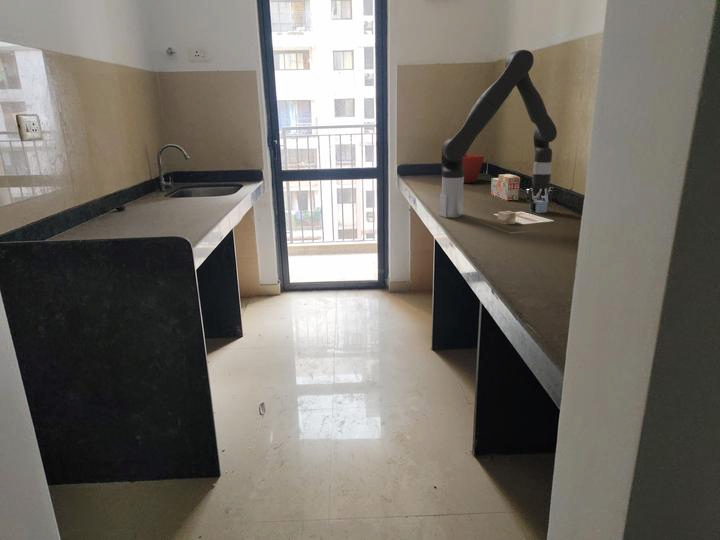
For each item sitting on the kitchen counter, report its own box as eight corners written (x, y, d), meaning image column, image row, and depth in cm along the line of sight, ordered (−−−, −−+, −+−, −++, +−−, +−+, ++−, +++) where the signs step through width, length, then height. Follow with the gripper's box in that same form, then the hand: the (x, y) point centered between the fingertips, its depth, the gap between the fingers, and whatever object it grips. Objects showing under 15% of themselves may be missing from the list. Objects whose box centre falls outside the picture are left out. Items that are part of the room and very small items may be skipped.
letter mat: (523, 225, 194) (523, 224, 194) (492, 215, 214) (492, 214, 214) (554, 222, 198) (554, 220, 198) (521, 212, 218) (521, 211, 218)
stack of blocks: (490, 195, 268) (491, 172, 264) (501, 194, 269) (502, 172, 265) (507, 201, 248) (508, 177, 244) (518, 200, 248) (520, 176, 245)
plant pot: (441, 181, 324) (442, 155, 319) (465, 179, 332) (466, 154, 327) (459, 184, 308) (460, 157, 303) (483, 182, 315) (484, 155, 310)
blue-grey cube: (537, 214, 215) (538, 202, 213) (530, 212, 219) (530, 201, 218) (546, 213, 216) (547, 202, 214) (539, 211, 221) (540, 200, 219)
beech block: (504, 226, 194) (505, 214, 193) (497, 223, 199) (498, 211, 197) (515, 225, 196) (516, 212, 194) (507, 222, 200) (508, 210, 199)
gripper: (533, 174, 207) (530, 213, 212) (561, 172, 211) (557, 211, 216) (522, 172, 213) (519, 210, 219) (549, 170, 218) (546, 208, 223)
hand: (538, 210), depth 217 cm, fingers closed on blue-grey cube, 5 cm apart
